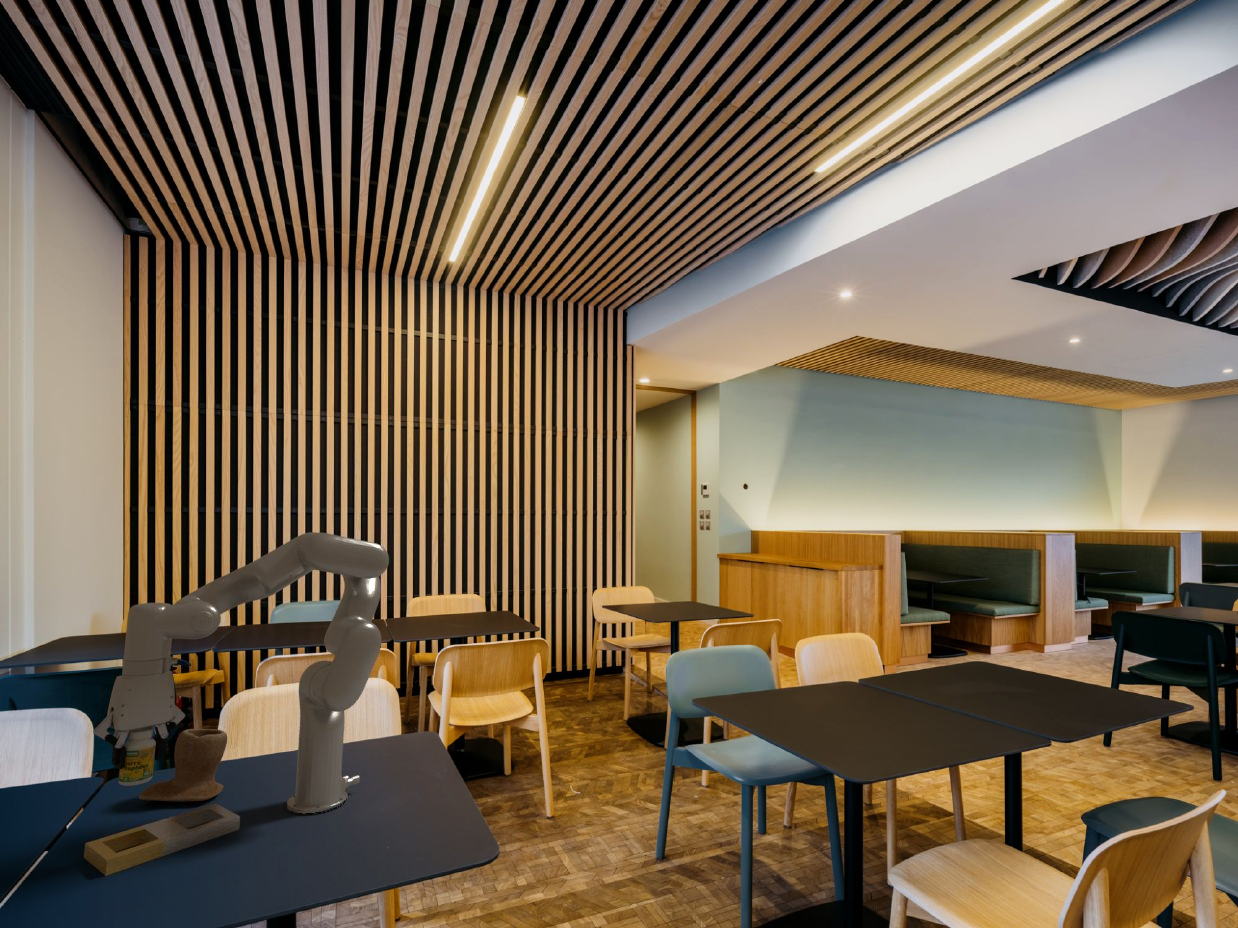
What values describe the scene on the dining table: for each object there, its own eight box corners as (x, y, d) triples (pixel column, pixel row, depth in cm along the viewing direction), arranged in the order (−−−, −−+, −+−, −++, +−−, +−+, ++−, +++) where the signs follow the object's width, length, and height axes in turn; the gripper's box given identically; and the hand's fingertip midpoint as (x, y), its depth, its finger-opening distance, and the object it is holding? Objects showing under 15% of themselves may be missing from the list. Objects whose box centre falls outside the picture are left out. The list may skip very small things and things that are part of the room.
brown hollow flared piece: (235, 787, 159) (239, 723, 160) (204, 808, 147) (209, 738, 148) (172, 786, 159) (177, 722, 160) (136, 807, 147) (142, 737, 148)
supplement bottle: (152, 774, 131) (158, 724, 132) (151, 783, 126) (157, 731, 127) (118, 779, 128) (125, 727, 129) (116, 788, 123) (123, 734, 125)
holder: (214, 815, 143) (215, 803, 143) (239, 829, 137) (240, 816, 137) (84, 857, 124) (85, 842, 125) (105, 875, 118) (107, 860, 118)
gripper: (186, 658, 139) (178, 747, 137) (85, 671, 125) (75, 771, 123) (202, 663, 134) (194, 755, 132) (100, 677, 120) (90, 780, 118)
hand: (137, 761), depth 128 cm, fingers closed on supplement bottle, 5 cm apart
